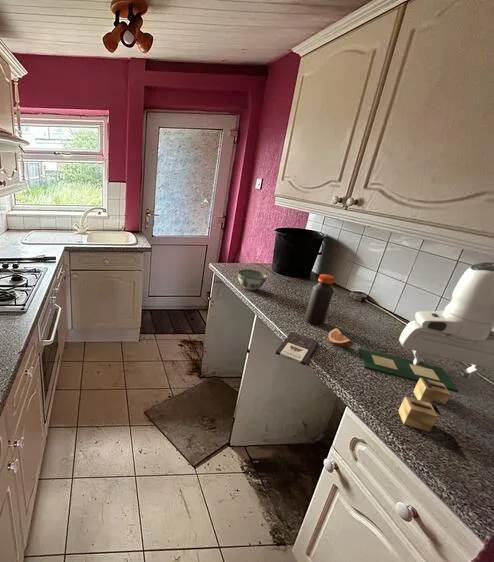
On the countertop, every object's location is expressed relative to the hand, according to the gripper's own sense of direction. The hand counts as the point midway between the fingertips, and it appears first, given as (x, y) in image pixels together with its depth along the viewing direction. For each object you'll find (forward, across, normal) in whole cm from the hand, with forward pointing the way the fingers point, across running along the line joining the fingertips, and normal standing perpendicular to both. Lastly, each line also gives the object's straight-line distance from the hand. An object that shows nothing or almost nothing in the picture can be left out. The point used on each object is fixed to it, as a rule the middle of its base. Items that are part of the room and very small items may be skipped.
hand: (439, 370), depth 83 cm
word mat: (+10, +1, -15) cm, 18 cm away
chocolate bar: (+10, +31, -10) cm, 34 cm away
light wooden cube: (+10, +5, +12) cm, 16 cm away
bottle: (+10, +26, -36) cm, 45 cm away
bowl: (+11, +53, -60) cm, 81 cm away
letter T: (+10, -1, 0) cm, 10 cm away
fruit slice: (+10, +18, -20) cm, 29 cm away
